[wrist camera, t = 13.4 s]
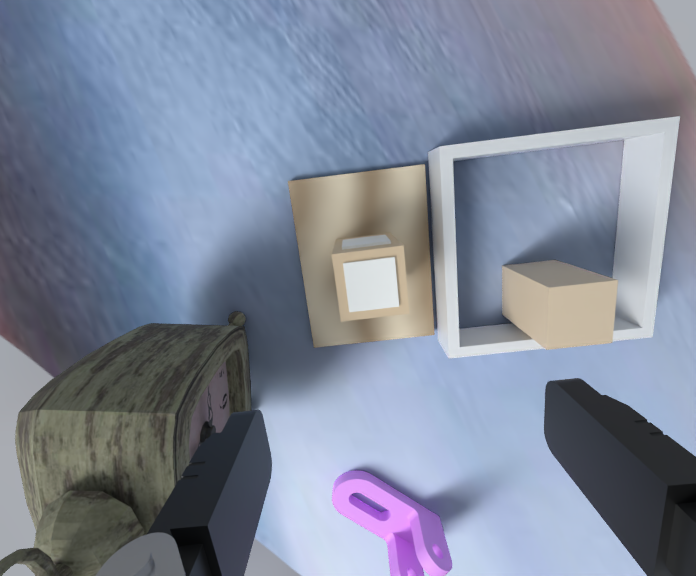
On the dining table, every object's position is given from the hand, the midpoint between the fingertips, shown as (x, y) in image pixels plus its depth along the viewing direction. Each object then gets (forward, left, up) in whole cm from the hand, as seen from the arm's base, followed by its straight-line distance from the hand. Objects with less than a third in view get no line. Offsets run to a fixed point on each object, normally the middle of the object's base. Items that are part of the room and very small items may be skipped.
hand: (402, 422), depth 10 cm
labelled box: (0, 0, -23) cm, 23 cm away
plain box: (-16, +4, -24) cm, 29 cm away
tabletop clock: (+16, +9, -24) cm, 31 cm away
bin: (-16, 0, -24) cm, 29 cm away
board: (0, 0, -24) cm, 24 cm away
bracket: (+1, +29, -24) cm, 38 cm away
